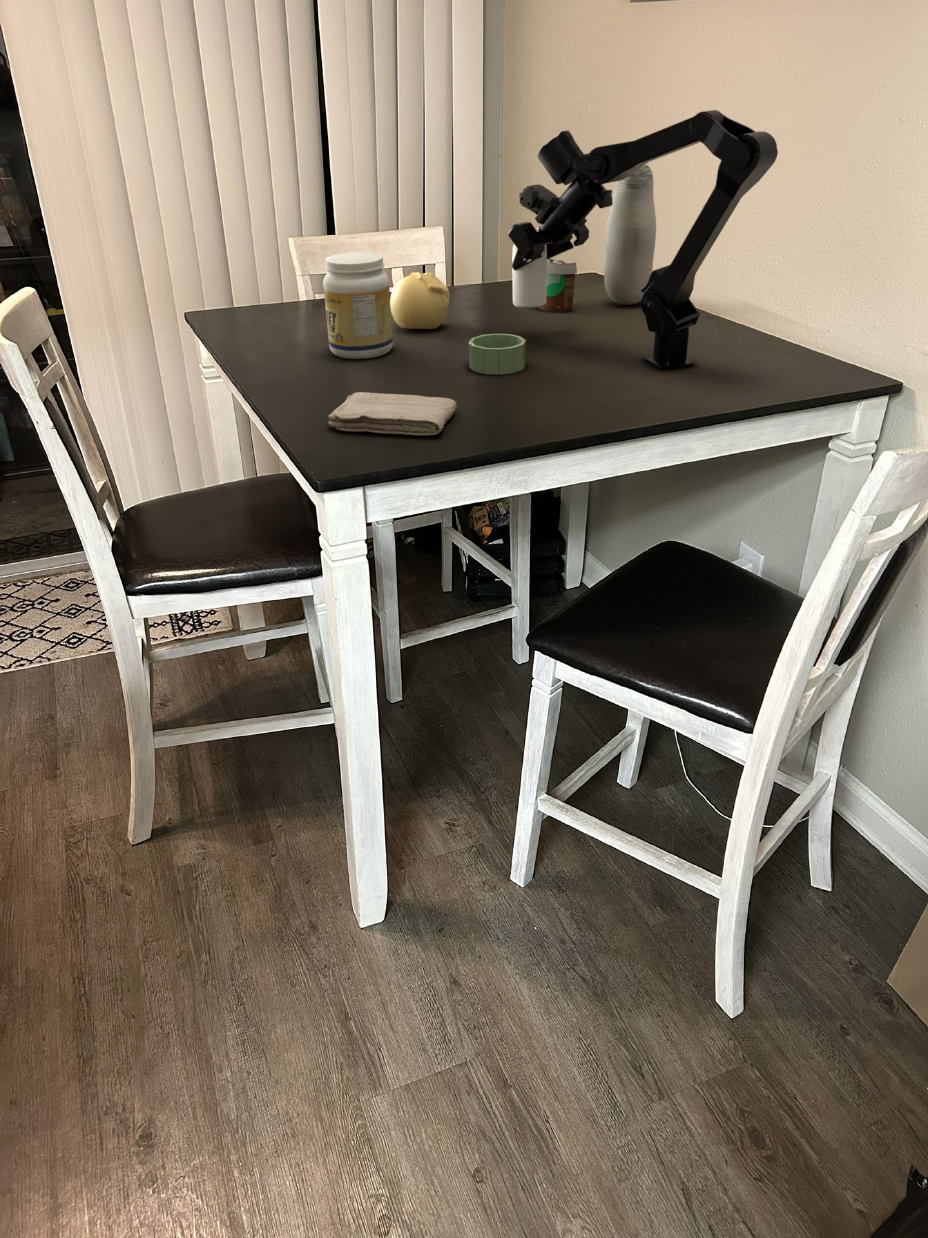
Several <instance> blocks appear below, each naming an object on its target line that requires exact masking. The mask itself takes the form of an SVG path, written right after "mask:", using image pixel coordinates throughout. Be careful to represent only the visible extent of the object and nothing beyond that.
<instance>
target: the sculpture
mask: <svg viewBox="0 0 928 1238" xmlns="http://www.w3.org/2000/svg"><path fill="white" fill-rule="evenodd" d="M449 304H450V291H449V288H448V286H447V285H446V284H444V283H443V281H442V280H441V279H440V278H438V277H437V276H435V274H434V273H433V272H428V271H427V272H425V273H422V272H420V271H418V272H414V271H412V272H411V273H410V274H409V275H407V276H405V277H403V278H401V279H400V280H399V281H397V283H396V284H395V285H394V287H393V289H392V290H391V293H390V306H391V317H392V318H393V321H395V323H396V325H397V326H398V327H399V328H402V329H407V330H433V329H434V330H435V329H437V328H439V327H440V326H441V324H442V323H443V322H444V320H445V319H446V318H447V311H448V308H449Z"/></svg>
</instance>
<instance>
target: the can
mask: <svg viewBox="0 0 928 1238" xmlns="http://www.w3.org/2000/svg"><path fill="white" fill-rule="evenodd" d="M512 245H513V246H512V251H511V252H512V253H511V254H512V257H511V259H512V261H511V262H512V263H511V265H512V264H513V261H514V258H515V255H516V252H517V247H516V246H515V244H514V243H513V244H512ZM541 255H542V257H541V258H539V259H537V260H535V261H533V262H531V263H530V264H528V265H526V266H524V267H522V268H520V269H518V270H514V269H513V268H512V267H511V269H512V272H511V273H512V275H511V276H512V278H511V279H512V304H513V306H514V307H515V308H518V309H539V307H542V306H544V305H545V303H546V285H547V246H546V245H545V250H544V251H543V252H542V254H541Z"/></svg>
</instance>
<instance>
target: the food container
mask: <svg viewBox="0 0 928 1238" xmlns="http://www.w3.org/2000/svg"><path fill="white" fill-rule="evenodd" d="M576 274H578V266H577V262H566V261H563V260H560V259H559V260H557V259H553V258H550V259H547V285H546V303H545V305H544V306H542V307H538V309H540V310H542V311H545V312H554V313H564V312H572V311H573V304H574V293H575V292H574V291H575V283H576V281H575V280H576Z"/></svg>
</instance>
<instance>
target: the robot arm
mask: <svg viewBox="0 0 928 1238" xmlns="http://www.w3.org/2000/svg"><path fill="white" fill-rule="evenodd" d="M699 143H701V144H703V145H704V146H705V147H706V149H708V151H709V152H710V153H711V154H712V156H714V157H716V158H718V159H719V160H720V162H719V165H718V167H717V172H716V180H715V186H714V187H713V190H712V191H711V193H710V195H709V196H708V199H707V200H706V202H705V203H704V205H703V207H702V209H701V211H700V212H699V213H698V215H697V218H696V220H695V221H694V222H693V224H692V226H691V228H690V229H689V231H688V233H687V235H686V236H685V238H684V240H683V242H682V244H681V245H680V247H679V248H678V250H677V252H676V254H675V255H674V258H673V259H672V261H671V262H670V264H668V265H666V266H663V267H660V268H656V269H653V270H652V273H651V275H650V278H649V280H648V283H647V285H646V286H645V287H644V288H643V289H642V290H641V292H644V293H643V295H642V297H641V301H640V302H639V304H640V305H641V310H642V313H643V315H644V316H645V321H646V325H647V329H648V332H652V333H654V338H653V349H652V350H653V353H652V356H645V358H644V360H645V361H646V362H648V364H651V365H653V366H655V367H656V368H658V369H659V370H668V369H678V368H684V367H685V368H686V367H691V366H694V362H693V361H692V360H690V359H688V358H687V356H688V347H689V338H690V337H689V336H690V327H692V326H695V325H696V324H697V322H698V320H699V317H700V315H701V313H700V311H698V309H697V307H696V306H695V305H694V302H692V300H691V299H690V298H691V295H692V293H693V291H694V285H695V278H696V275H697V272H698V271H699V269H700V268H701V266H702V264H703V262H704V261H705V260H706V258H707V256H708V254H709V253H710V251H711V249H712V248H713V246H714V244H715V243H716V241H717V239H718V238H719V236H720V234H721V232H722V231H723V229H724V228H725V226H726V224H727V222H728V221H729V219H730V218H731V216H732V214H733V213H734V211H735V209H736V208H737V206H738V204H739V203H740V201H741V199H742V198H743V197H744V196H745V195H746V194H747V193H748V192H749V191H750V190H752V188H753V187H754V186H756V185H757V183H759V182H760V181H761V180H762V178H763V177H764V176H765V175H766V174H767V172H768V171H770V169H771V168H772V166H774V164H775V163H776V160H777V157H778V154H779V150H778V144H777V141H776V139H775V137H774V136H773V135H772V134H771V133H769V132H767V131H761V130H760V131H756V130H754V129H753V128H751V127H749V126H748V125H745V124H743V123H740V122H739V121H736V120H734V119H732V118H729V117H728V116H727V115H725V114H723V113H722V112H721V111H719V110H717V109H713V110H712V109H711V110H705V111H703V110H702V111H699V112H698V113H696V114H695V115H693V116H692V117H689V118H687V119H683V120H682V121H680V122H677V123H674V124H671V125H669V126H666V127H665V128H661V129H660V130H659V129H658V130H657V131H655V132H652V133H650V134H647V135H645V136H642V137H640V138H637V139H635V140H631V141H625V142H624V141H623V142H618V143H614V144H606V145H601V146H596V147H594V148H593V149H592V150H590V152H588V153H584V152H583V150H582V149H581V148H580V146H579V145H578V143H577V142H576V140H575V138H574V136H573V134H572V133H571V132H570V130H562V131H560V132H559V133H558V135H557V136H555V137H553V138H552V139H550V140H549V141H547V143H546V144H544V145H543V146H542V147H541V148H540V150H539V151H538V153H537V159H538V161H539V162H540V163H541V165H542V166H543V167H544V169H545V170H546V172H547V173H548V174H549V176H550V178H551V179H552V181H553V182H554V183H555V184H556V185H561V184H563V185H564V186H567V185H568V186H567V187H566V189H565V190H564V191H563V193H562V194H560V197H559V196H558V195H557V194H556V193H554V192H553V191H551V190H550V189H548V187H545V186H544V185H542V184H538V183H537V184H532V185H528V186H526V187H525V188H523V190H522V192H520V193H518V195H519V196H518V197H519V199H518V201H519V204H520V205H521V206H522V207H523V208H525V209H526V210H529V211H531V212H532V213H533V214H535V217H534V220H535V221H536V223H537V224H539V225H540V226H538V227H537V229H536V228H535V226H534V224H533V223H532V222H531V221H523V222H518V223H515V224H512V226H511V227H510V229H509V230H508V231H507V236H508V237H509V239H510V240H511V242H512V244H513V245H514V244H515V246H516V247H517V252H516V255H515V258H514V261H513V264H512V263H511V269H512V268H513V269H514V270H518V269H520V268H522V267H524V266H526V265H528V264H530V263H531V262H533V261H535V260H537V259H539V258H541V257H542V255H541V254H542V252H543V251H544V250H545V245H546V246H547V259H553V258H555V257H556V256H559V255H561V254H563V253H565V252H568V251H570V250H573V249H574V247H575V248H576V247H580V246H583V245H584V244H585V243H586V242H587V240H589V239H590V229H589V228H588V227H587V225H586V223H588V219H586V218H587V216H588V215H589V214H590V213H591V212H592V211H593V209H594V208H596V206H597V207H598V209H606V208H609V207H612V205H613V195H612V194H613V190H612V189H607V188H606V187H605V186H604V185H605V184H609V183H610V184H611V183H616V181H620V180H623V179H625V178H626V177H628V176H630V175H631V174H633V173H634V172H636V171H638V170H639V169H640V168H641V167H642V166H643V165H645V164H648V163H650V162H653V161H655V160H657V159H660V158H663V157H665V156H668V155H671V154H673V153H677V152H679V151H681V150H685V149H687V148H689V147H692V146H695V145H698V144H699ZM573 235H574V236H575V238H576V239H574V241H573V242H572V239H573V238H574V236H573Z"/></svg>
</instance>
